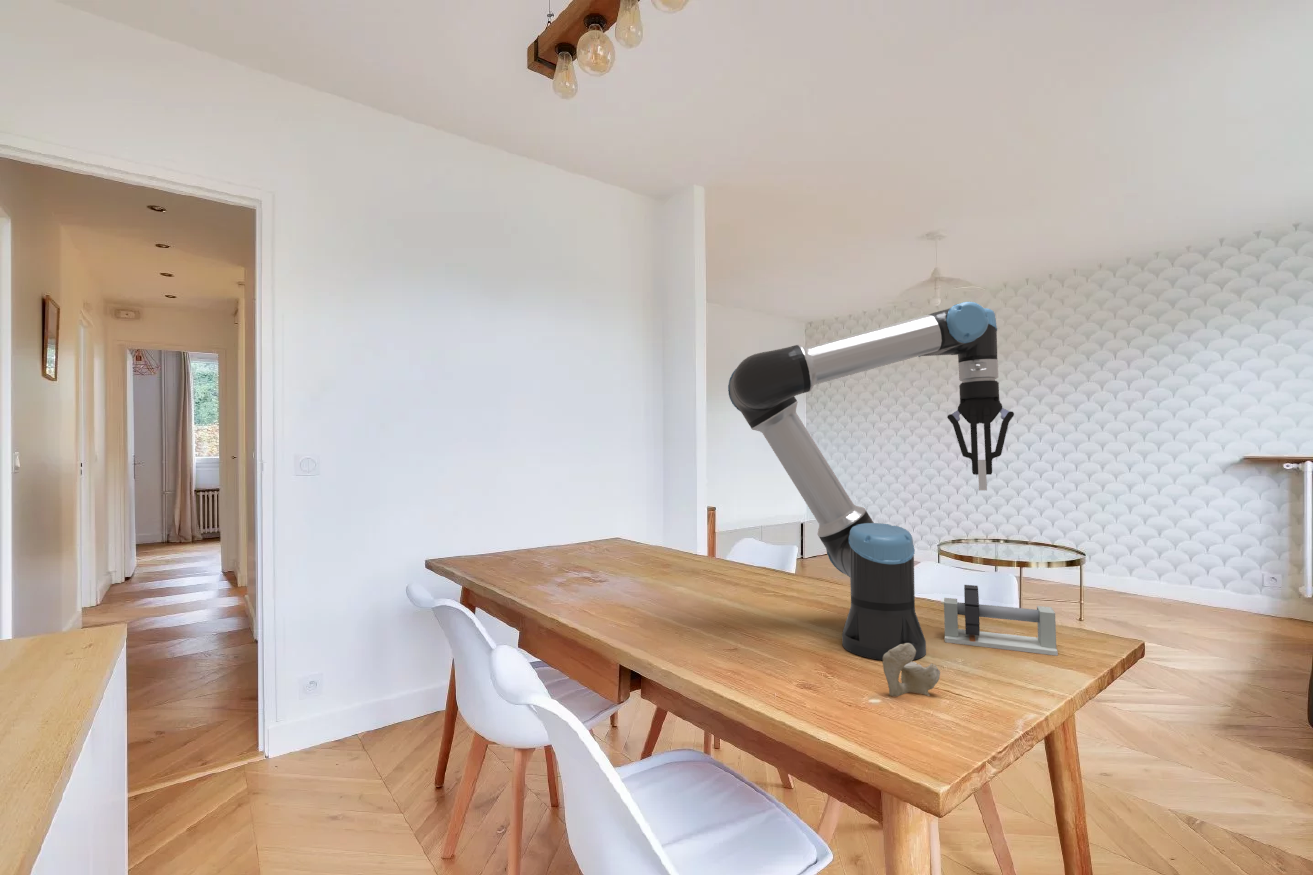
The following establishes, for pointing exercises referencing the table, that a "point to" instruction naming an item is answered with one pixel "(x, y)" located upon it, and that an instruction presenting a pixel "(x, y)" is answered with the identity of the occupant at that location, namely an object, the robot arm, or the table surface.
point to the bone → (908, 672)
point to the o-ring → (971, 610)
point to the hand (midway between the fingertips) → (982, 489)
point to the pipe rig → (998, 640)
